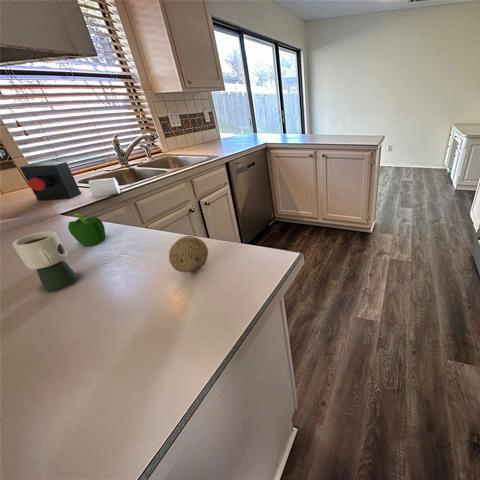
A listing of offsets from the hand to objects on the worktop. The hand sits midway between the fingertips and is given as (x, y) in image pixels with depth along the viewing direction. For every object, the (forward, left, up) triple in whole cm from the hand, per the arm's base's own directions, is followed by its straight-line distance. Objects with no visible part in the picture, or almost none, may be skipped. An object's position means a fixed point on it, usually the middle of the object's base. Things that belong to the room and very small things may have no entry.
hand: (1, 152), depth 104 cm
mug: (+25, -12, -24) cm, 36 cm away
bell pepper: (-14, -61, -24) cm, 67 cm away
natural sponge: (-18, -105, -24) cm, 109 cm away
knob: (+9, +5, -18) cm, 21 cm away
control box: (+15, +8, -24) cm, 29 cm away
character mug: (-32, -77, -24) cm, 86 cm away
